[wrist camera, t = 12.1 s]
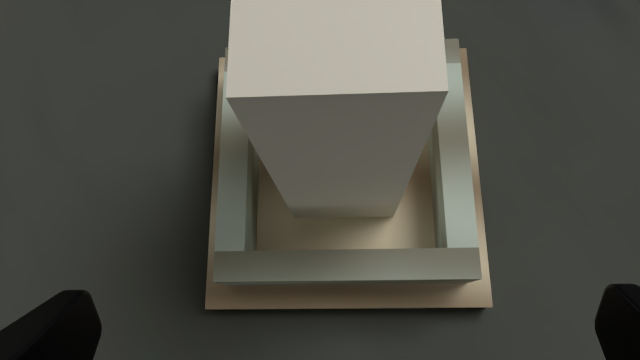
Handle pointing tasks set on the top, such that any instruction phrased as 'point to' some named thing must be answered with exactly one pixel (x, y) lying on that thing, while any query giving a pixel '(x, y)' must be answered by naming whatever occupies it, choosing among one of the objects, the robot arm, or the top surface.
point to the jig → (352, 226)
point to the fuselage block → (337, 97)
